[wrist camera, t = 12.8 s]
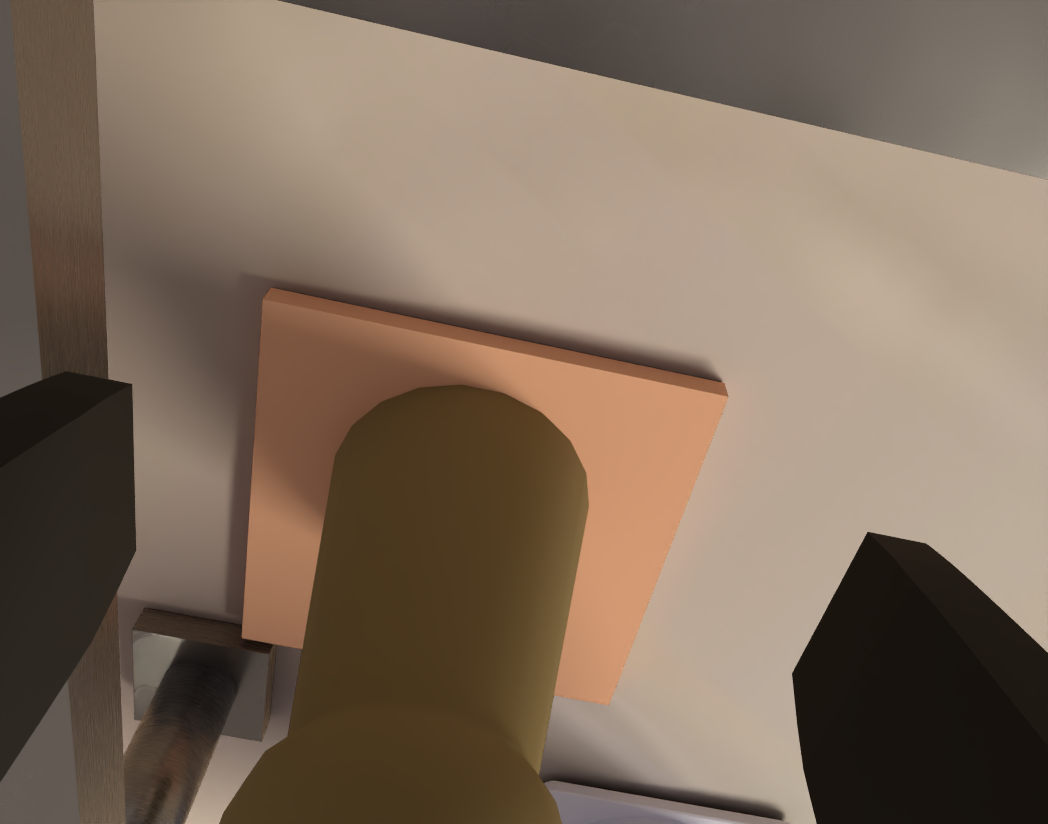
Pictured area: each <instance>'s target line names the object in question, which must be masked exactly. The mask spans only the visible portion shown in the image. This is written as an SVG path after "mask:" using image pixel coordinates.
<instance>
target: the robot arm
mask: <svg viewBox="0 0 1048 824" xmlns="http://www.w3.org/2000/svg"><path fill="white" fill-rule="evenodd" d="M135 551H136V528H135V486H134V443H133V401H132V384H129V383H124V382H119V381H114V380H109V379H104V378H99V377H94V376H89V375H84V374H79V373H74V372H69V371H65V372H62V373H59V374H57V375H54V376H51V377H48V378H45V379H43V380H40V381H38V382H35V383H33V384H31V385H28V386H26V387H23V388H21V389H19V390H16V391H14V392H12V393H9V394H7V395H5V396H2V397H0V782H1V781H2V779H3V778H4V776H5V775H6V773H7V772H8V770H9V769H10V767H11V766H12V764H13V762H14V761H15V759H16V758H17V756H18V755H19V753H20V752H21V750H22V749H23V747H24V746H25V744H26V743H27V741H28V740H29V738H30V737H31V735H32V734H33V732H34V731H35V729H36V728H37V726H38V725H39V723H40V722H41V720H42V718H43V717H44V715H45V714H46V712H47V711H48V709H49V708H50V706H51V705H52V703H53V702H54V700H55V698H56V697H57V695H58V694H59V692H60V691H61V689H62V688H63V686H64V685H65V683H66V681H67V680H68V678H69V677H70V675H71V674H72V672H73V671H74V669H75V668H76V666H77V664H78V663H79V661H80V660H81V658H82V657H83V655H84V653H85V652H86V650H87V649H88V647H89V646H90V644H91V642H92V641H93V639H94V637H95V635H96V633H97V631H98V629H99V627H100V625H101V623H102V621H103V619H104V617H105V615H106V613H107V611H108V609H109V607H110V605H111V603H112V601H113V599H114V596H115V594H116V592H117V590H118V588H119V586H120V584H121V581H122V579H123V577H124V575H125V573H126V571H127V569H128V566H129V564H130V562H131V560H132V558H133V556H134V553H135ZM792 677H793V687H794V697H795V706H796V716H797V726H798V733H799V740H800V748H801V755H802V762H803V769H804V774H805V778H806V782H807V786H808V790H809V795H810V799H811V803H812V807H813V811H814V814H815V818H816V822H817V824H1048V653H1047V652H1046V651H1045V650H1044V649H1043V648H1042V647H1041V646H1040V645H1039V644H1038V643H1037V642H1036V641H1035V640H1034V639H1033V638H1032V637H1031V636H1029V635H1028V634H1027V633H1026V632H1025V631H1024V630H1023V629H1022V628H1021V627H1020V626H1019V625H1018V624H1017V623H1016V622H1015V621H1014V620H1013V619H1011V618H1010V617H1009V616H1008V615H1007V614H1006V613H1005V612H1004V611H1003V610H1002V609H1001V608H1000V607H999V606H998V605H997V604H995V603H994V602H993V601H992V600H991V599H990V598H989V597H988V596H987V595H986V594H985V593H983V592H982V591H981V590H980V589H979V588H978V587H977V586H976V585H975V584H974V583H973V582H972V581H970V580H969V579H968V578H967V577H966V576H965V575H964V574H963V573H961V572H960V571H959V570H958V569H957V568H956V567H955V566H953V565H952V564H951V563H950V562H949V561H947V560H946V559H945V558H944V557H943V556H941V555H940V554H939V553H938V552H936V551H935V550H934V549H933V548H931V547H930V546H929V545H927V544H926V543H921V542H916V541H911V540H906V539H901V538H896V537H891V536H886V535H881V534H876V533H871V532H867V534H866V536H865V538H864V540H863V542H862V544H861V545H860V547H859V549H858V551H857V553H856V555H855V557H854V559H853V560H852V562H851V564H850V566H849V568H848V570H847V572H846V574H845V575H844V577H843V579H842V581H841V583H840V585H839V587H838V589H837V590H836V592H835V594H834V596H833V598H832V600H831V602H830V604H829V605H828V607H827V609H826V611H825V613H824V615H823V617H822V619H821V620H820V622H819V624H818V626H817V628H816V630H815V632H814V633H813V635H812V637H811V639H810V641H809V643H808V645H807V647H806V648H805V650H804V652H803V654H802V656H801V658H800V660H799V662H798V663H797V665H796V667H795V669H794V671H793V673H792ZM544 784H545V786H546V787H547V789H548V790H549V792H550V793H551V795H552V796H553V798H554V799H555V801H556V802H557V806H558V810H559V814H560V818H561V821H562V824H789V823H787V822H785V821H782V820H776V819H771V818H765V817H759V816H753V815H748V814H742V813H736V812H731V811H725V810H719V809H714V808H708V807H702V806H697V805H691V804H685V803H679V802H674V801H668V800H662V799H657V798H651V797H645V796H640V795H634V794H628V793H623V792H617V791H611V790H605V789H600V788H594V787H588V786H583V785H577V784H571V783H566V782H560V781H548V782H545V783H544Z"/></svg>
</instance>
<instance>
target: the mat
mask: <svg viewBox="0 0 1048 824" xmlns="http://www.w3.org/2000/svg"><path fill="white" fill-rule="evenodd" d="M448 385H467V386H472V387H476V388H481V389H486V390H491V391H496V392H501V393H505V394H507V395H509V396H511V397H513V398H515V399H517V400H518V401H520V402H522V403H524V404H526V405H528V406H530V407H532V408H534V409H536V410H538V411H540V412H542V413H543V414H544V415H545V416H546V417H547V418H548V419H549V420H550V421H551V422H552V423H553V424H554V425H555V426H556V427H557V428H558V429H559V430H560V431H561V432H562V433H563V434H564V435H565V436H566V437H567V438H568V439H569V440H570V441H571V443H572V445H573V447H574V449H575V451H576V453H577V455H578V457H579V459H580V461H581V463H582V465H583V467H584V469H585V471H586V475H587V487H588V499H589V509H588V514H587V520H586V525H585V530H584V536H583V541H582V546H581V552H580V557H579V563H578V568H577V573H576V579H575V584H574V589H573V595H572V600H571V606H570V611H569V616H568V622H567V627H566V632H565V638H564V643H563V649H562V654H561V659H560V665H559V670H558V675H557V681H556V686H555V692H554V695H556V696H561V697H567V698H572V699H577V700H583V701H588V702H594V703H599V704H605V705H609V703H610V701H611V698H612V696H613V693H614V691H615V688H616V685H617V683H618V680H619V678H620V675H621V672H622V670H623V667H624V665H625V662H626V660H627V657H628V654H629V652H630V649H631V647H632V644H633V642H634V639H635V636H636V634H637V631H638V629H639V626H640V623H641V621H642V618H643V616H644V613H645V611H646V608H647V605H648V603H649V600H650V598H651V595H652V593H653V590H654V587H655V585H656V582H657V580H658V577H659V574H660V572H661V569H662V567H663V564H664V562H665V559H666V556H667V554H668V551H669V549H670V546H671V544H672V541H673V538H674V536H675V533H676V531H677V528H678V525H679V523H680V520H681V518H682V515H683V513H684V510H685V507H686V505H687V502H688V500H689V497H690V495H691V492H692V489H693V487H694V484H695V482H696V479H697V476H698V474H699V471H700V469H701V466H702V464H703V461H704V458H705V456H706V453H707V451H708V448H709V446H710V443H711V440H712V438H713V435H714V433H715V430H716V427H717V425H718V422H719V420H720V417H721V415H722V412H723V409H724V407H725V404H726V402H727V399H728V394H727V390H726V387H725V384H724V383H722V382H717V381H712V380H708V379H703V378H698V377H693V376H689V375H684V374H679V373H674V372H670V371H665V370H660V369H655V368H651V367H646V366H641V365H636V364H632V363H627V362H622V361H617V360H613V359H608V358H603V357H598V356H594V355H589V354H584V353H579V352H575V351H570V350H565V349H560V348H556V347H551V346H546V345H541V344H537V343H532V342H527V341H522V340H518V339H513V338H508V337H503V336H499V335H494V334H489V333H484V332H480V331H475V330H470V329H465V328H461V327H456V326H451V325H446V324H442V323H437V322H432V321H427V320H423V319H418V318H413V317H408V316H404V315H399V314H394V313H389V312H385V311H380V310H375V309H370V308H366V307H361V306H356V305H351V304H347V303H342V302H337V301H332V300H328V299H323V298H318V297H313V296H309V295H304V294H299V293H294V292H290V291H285V290H280V289H276V288H270V290H269V291H268V293H267V294H266V295H265V297H264V298H263V303H262V319H261V335H260V351H259V367H258V384H257V400H256V416H255V432H254V448H253V464H252V480H251V496H250V512H249V528H248V544H247V560H246V576H245V592H244V609H243V625H242V638H243V639H249V640H254V641H260V642H265V643H271V644H276V645H282V646H287V647H293V648H298V649H302V648H303V642H304V636H305V630H306V624H307V618H308V612H309V606H310V600H311V594H312V589H313V583H314V577H315V571H316V565H317V559H318V553H319V547H320V541H321V535H322V529H323V523H324V517H325V512H326V506H327V500H328V494H329V488H330V482H331V476H332V470H333V464H334V458H335V454H336V453H337V451H338V449H339V447H340V446H341V444H342V442H343V440H344V439H345V437H346V435H347V433H348V432H349V430H350V428H351V426H352V425H353V424H354V423H356V422H357V421H358V420H359V419H360V418H362V417H363V416H364V415H365V414H367V413H368V412H369V411H370V410H371V409H373V408H374V407H375V406H376V405H378V404H379V403H380V402H382V401H384V400H387V399H390V398H392V397H395V396H398V395H400V394H403V393H406V392H408V391H411V390H414V389H416V388H419V387H433V386H448Z"/></svg>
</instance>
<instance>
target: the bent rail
mask: <svg viewBox="0 0 1048 824" xmlns="http://www.w3.org/2000/svg"><path fill="white" fill-rule="evenodd" d="M279 1H283V2H288V3H292V4H296V5H300V6H305V7H309V8H313V9H318V10H322V11H326V12H330V13H335V14H339V15H343V16H348V17H352V18H356V19H360V20H365V21H369V22H373V23H378V24H382V25H386V26H390V27H395V28H399V29H403V30H408V31H412V32H416V33H420V34H425V35H429V36H433V37H438V38H442V39H446V40H451V41H455V42H459V43H463V44H468V45H472V46H476V47H481V48H485V49H489V50H493V51H498V52H502V53H506V54H511V55H515V56H519V57H523V58H528V59H532V60H536V61H541V62H545V63H549V64H553V65H558V66H562V67H566V68H571V69H575V70H579V71H583V72H588V73H592V74H596V75H601V76H605V77H609V78H613V79H618V80H622V81H626V82H631V83H635V84H639V85H643V86H648V87H652V88H656V89H661V90H665V91H669V92H673V93H678V94H682V95H686V96H691V97H695V98H699V99H703V100H708V101H712V102H716V103H721V104H725V105H729V106H733V107H738V108H742V109H746V110H751V111H755V112H759V113H763V114H768V115H772V116H776V117H781V118H785V119H789V120H793V121H798V122H802V123H806V124H811V125H815V126H819V127H823V128H828V129H832V130H836V131H841V132H845V133H849V134H853V135H858V136H862V137H866V138H871V139H875V140H879V141H883V142H888V143H892V144H896V145H901V146H905V147H909V148H913V149H918V150H922V151H926V152H931V153H935V154H939V155H943V156H948V157H952V158H956V159H961V160H965V161H969V162H973V163H978V164H982V165H986V166H991V167H995V168H999V169H1003V170H1008V171H1012V172H1016V173H1021V174H1025V175H1029V176H1033V177H1038V178H1042V179H1046V180H1048V0H279ZM65 371H69V372H74V373H79V374H84V375H89V376H94V377H99V378H104V379H108V359H107V334H106V308H105V283H104V258H103V233H102V207H101V182H100V157H99V132H98V107H97V81H96V56H95V31H94V6H93V0H0V397H2V396H5V395H7V394H9V393H12V392H14V391H16V390H19V389H21V388H23V387H26V386H28V385H31V384H33V383H35V382H38V381H40V380H43V379H45V378H48V377H51V376H54V375H57V374H59V373H62V372H65ZM276 646H277V645H276V644H271V643H265V642H260V641H254V640H249V639H243V638H242V626H240V625H234V624H229V623H223V622H218V621H212V620H207V619H202V618H196V617H191V616H185V615H180V614H174V613H169V612H163V611H158V610H153V609H147V608H144V610H143V611H142V613H141V615H140V616H139V618H138V620H137V622H136V623H135V625H134V627H133V629H132V652H133V687H134V720H140V721H141V722H140V724H139V726H138V728H137V730H136V732H135V734H134V736H133V738H132V740H131V742H130V744H129V746H128V748H127V750H126V752H125V754H124V756H123V737H122V712H121V686H120V661H119V636H118V611H117V592H116V594H115V596H114V599H113V601H112V603H111V605H110V607H109V609H108V611H107V613H106V615H105V617H104V619H103V621H102V623H101V625H100V627H99V629H98V631H97V633H96V635H95V637H94V639H93V641H92V642H91V644H90V646H89V647H88V649H87V650H86V652H85V653H84V655H83V657H82V658H81V660H80V661H79V663H78V664H77V666H76V668H75V669H74V671H73V672H72V674H71V675H70V677H69V678H68V680H67V681H66V683H65V685H64V686H63V688H62V689H61V691H60V692H59V694H58V695H57V697H56V698H55V700H54V702H53V703H52V705H51V706H50V708H49V709H48V711H47V712H46V714H45V715H44V717H43V718H42V720H41V722H40V723H39V725H38V726H37V728H36V729H35V731H34V732H33V734H32V735H31V737H30V738H29V740H28V741H27V743H26V744H25V746H24V747H23V749H22V750H21V752H20V753H19V755H18V756H17V758H16V759H15V761H14V762H13V764H12V766H11V767H10V769H9V770H8V772H7V773H6V775H5V776H4V778H3V779H2V781H1V782H0V824H185V822H186V819H187V817H188V814H189V812H190V809H191V807H192V804H193V802H194V800H195V797H196V795H197V792H198V790H199V787H200V785H201V782H202V780H203V777H204V775H205V772H206V770H207V767H208V765H209V763H210V760H211V758H212V755H213V753H214V750H215V748H216V745H217V743H218V740H219V738H220V735H226V736H232V737H237V738H243V739H249V740H255V741H260V742H262V739H263V737H264V734H265V731H266V728H267V725H268V723H269V720H270V711H271V700H272V689H273V678H274V667H275V657H276Z"/></svg>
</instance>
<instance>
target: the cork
mask: <svg viewBox="0 0 1048 824" xmlns="http://www.w3.org/2000/svg"><path fill="white" fill-rule="evenodd" d="M588 509H589V499H588V487H587V475H586V471H585V469H584V467H583V465H582V463H581V461H580V459H579V457H578V455H577V453H576V451H575V449H574V447H573V445H572V443H571V441H570V440H569V439H568V438H567V437H566V436H565V435H564V434H563V433H562V432H561V431H560V430H559V429H558V428H557V427H556V426H555V425H554V424H553V423H552V422H551V421H550V420H549V419H548V418H547V417H546V416H545V415H544V414H543V413H542V412H540V411H538V410H536V409H534V408H532V407H530V406H528V405H526V404H524V403H522V402H520V401H518V400H517V399H515V398H513V397H511V396H509V395H507V394H505V393H501V392H496V391H491V390H486V389H481V388H476V387H472V386H467V385H448V386H433V387H419V388H416V389H414V390H411V391H408V392H406V393H403V394H400V395H398V396H395V397H392V398H390V399H387V400H384V401H382V402H380V403H379V404H378V405H376V406H375V407H374V408H373V409H371V410H370V411H369V412H368V413H367V414H365V415H364V416H363V417H362V418H360V419H359V420H358V421H357V422H356V423H354V424H353V425H352V426H351V428H350V430H349V432H348V433H347V435H346V437H345V439H344V440H343V442H342V444H341V446H340V447H339V449H338V451H337V453H336V454H335V458H334V464H333V470H332V476H331V482H330V488H329V494H328V500H327V506H326V512H325V517H324V523H323V529H322V535H321V541H320V547H319V553H318V559H317V565H316V571H315V577H314V583H313V589H312V594H311V600H310V606H309V612H308V618H307V624H306V630H305V636H304V642H303V648H302V654H301V660H300V666H299V671H298V677H297V683H296V689H295V695H294V701H293V707H292V713H291V719H290V725H289V731H288V737H287V738H285V739H283V740H282V741H280V742H279V743H277V744H276V745H274V746H273V747H271V748H270V749H268V750H266V751H265V752H264V754H263V755H262V757H261V758H260V760H259V761H258V762H257V764H256V765H255V767H254V768H253V770H252V771H251V773H250V774H249V775H248V777H247V778H246V780H245V781H244V783H243V784H242V786H241V787H240V789H239V790H238V792H237V793H236V795H235V796H234V798H233V799H232V801H231V802H230V804H229V805H228V807H227V808H226V810H225V811H224V813H223V815H222V818H221V821H220V823H219V824H562V821H561V818H560V814H559V810H558V806H557V802H556V801H555V799H554V798H553V796H552V795H551V793H550V792H549V790H548V789H547V787H546V786H545V784H544V783H543V781H542V780H541V778H540V777H539V772H540V767H541V761H542V756H543V751H544V745H545V740H546V735H547V729H548V724H549V718H550V713H551V708H552V702H553V697H554V692H555V686H556V681H557V675H558V670H559V665H560V659H561V654H562V649H563V643H564V638H565V632H566V627H567V622H568V616H569V611H570V606H571V600H572V595H573V589H574V584H575V579H576V573H577V568H578V563H579V557H580V552H581V546H582V541H583V536H584V530H585V525H586V520H587V514H588Z"/></svg>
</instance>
